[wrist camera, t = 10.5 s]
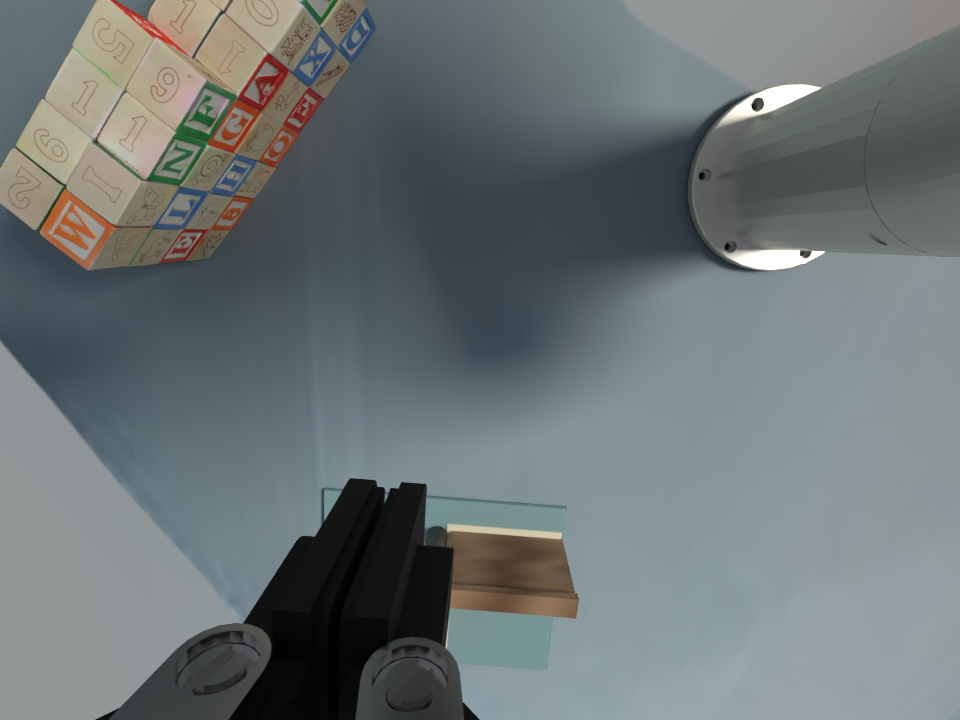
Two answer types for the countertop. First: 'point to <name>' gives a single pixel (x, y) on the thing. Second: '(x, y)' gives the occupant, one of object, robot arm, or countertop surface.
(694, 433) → the countertop surface
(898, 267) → the countertop surface
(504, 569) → the fixed fence panel
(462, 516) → the board
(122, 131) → the stack of blocks
